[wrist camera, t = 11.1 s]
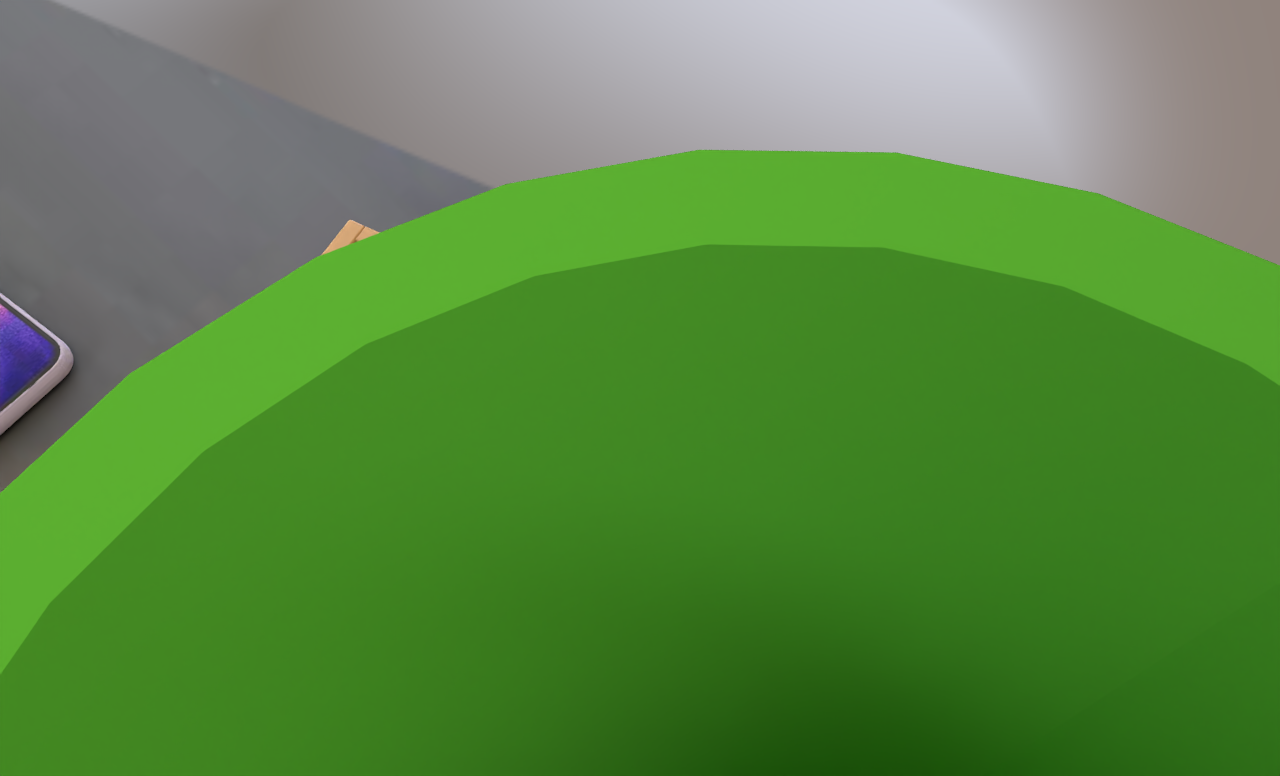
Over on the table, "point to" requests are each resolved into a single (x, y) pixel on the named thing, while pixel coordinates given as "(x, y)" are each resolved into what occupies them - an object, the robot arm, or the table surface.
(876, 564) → the cup
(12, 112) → the table surface
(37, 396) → the smartphone
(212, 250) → the table surface
